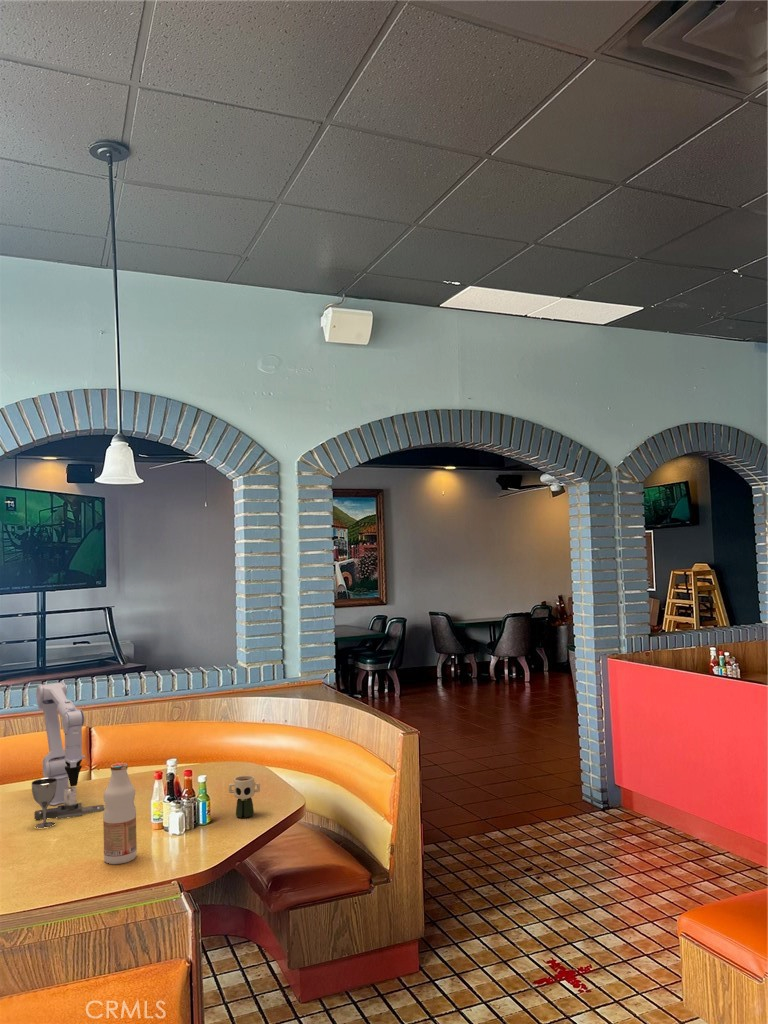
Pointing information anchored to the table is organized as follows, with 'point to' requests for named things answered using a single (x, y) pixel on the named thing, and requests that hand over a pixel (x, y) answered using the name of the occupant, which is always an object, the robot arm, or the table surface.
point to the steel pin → (70, 798)
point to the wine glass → (44, 796)
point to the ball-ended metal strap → (67, 811)
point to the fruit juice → (119, 817)
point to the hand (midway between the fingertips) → (73, 782)
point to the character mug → (244, 794)
